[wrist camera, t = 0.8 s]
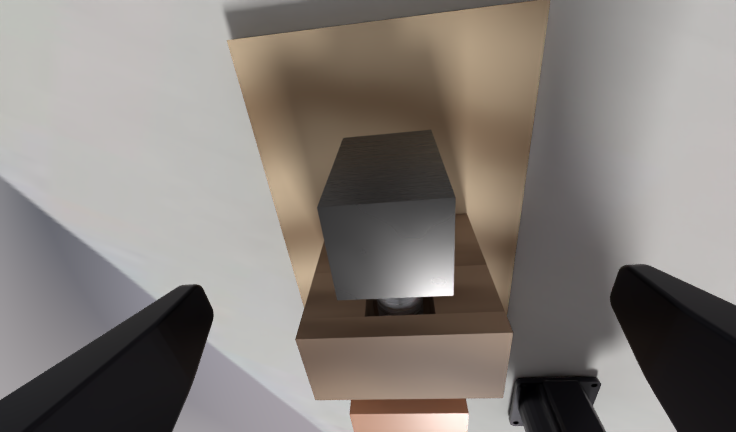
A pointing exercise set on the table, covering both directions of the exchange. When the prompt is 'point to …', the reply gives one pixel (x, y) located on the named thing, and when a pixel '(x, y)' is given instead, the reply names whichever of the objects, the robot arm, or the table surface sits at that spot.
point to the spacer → (409, 415)
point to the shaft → (389, 221)
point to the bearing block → (409, 338)
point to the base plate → (400, 113)
